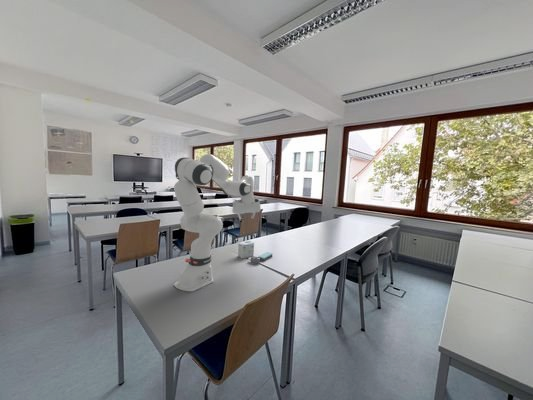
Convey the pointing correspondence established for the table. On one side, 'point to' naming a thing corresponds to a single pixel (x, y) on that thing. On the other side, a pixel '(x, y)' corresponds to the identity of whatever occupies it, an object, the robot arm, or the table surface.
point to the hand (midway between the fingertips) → (246, 218)
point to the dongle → (254, 260)
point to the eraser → (265, 256)
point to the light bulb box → (245, 249)
